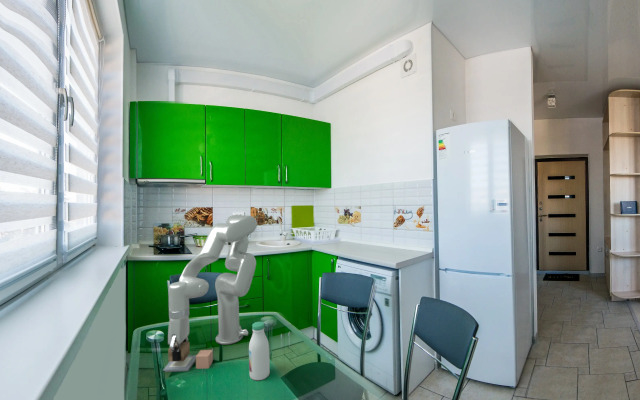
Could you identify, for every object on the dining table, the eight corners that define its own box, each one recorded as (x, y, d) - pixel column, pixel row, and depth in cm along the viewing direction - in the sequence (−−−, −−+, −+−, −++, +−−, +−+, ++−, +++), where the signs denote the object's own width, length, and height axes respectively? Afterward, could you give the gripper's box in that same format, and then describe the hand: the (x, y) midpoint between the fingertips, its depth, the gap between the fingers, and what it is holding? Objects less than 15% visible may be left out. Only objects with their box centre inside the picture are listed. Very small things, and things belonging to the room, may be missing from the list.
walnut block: (189, 353, 128) (189, 341, 128) (183, 361, 122) (183, 349, 122) (175, 353, 128) (175, 342, 128) (168, 361, 122) (168, 349, 122)
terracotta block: (212, 361, 127) (212, 349, 127) (208, 368, 122) (208, 356, 122) (200, 361, 127) (200, 350, 127) (196, 368, 122) (195, 356, 122)
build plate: (198, 357, 131) (197, 355, 131) (188, 370, 121) (188, 368, 121) (174, 357, 131) (174, 355, 131) (163, 371, 121) (162, 369, 121)
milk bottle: (273, 370, 120) (272, 320, 119) (263, 382, 112) (262, 329, 112) (256, 367, 122) (254, 318, 122) (245, 378, 115) (243, 326, 114)
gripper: (179, 305, 134) (180, 345, 134) (159, 322, 116) (160, 368, 117) (196, 305, 134) (197, 345, 134) (179, 321, 116) (180, 368, 117)
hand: (180, 355), depth 125 cm, fingers closed on walnut block, 6 cm apart
